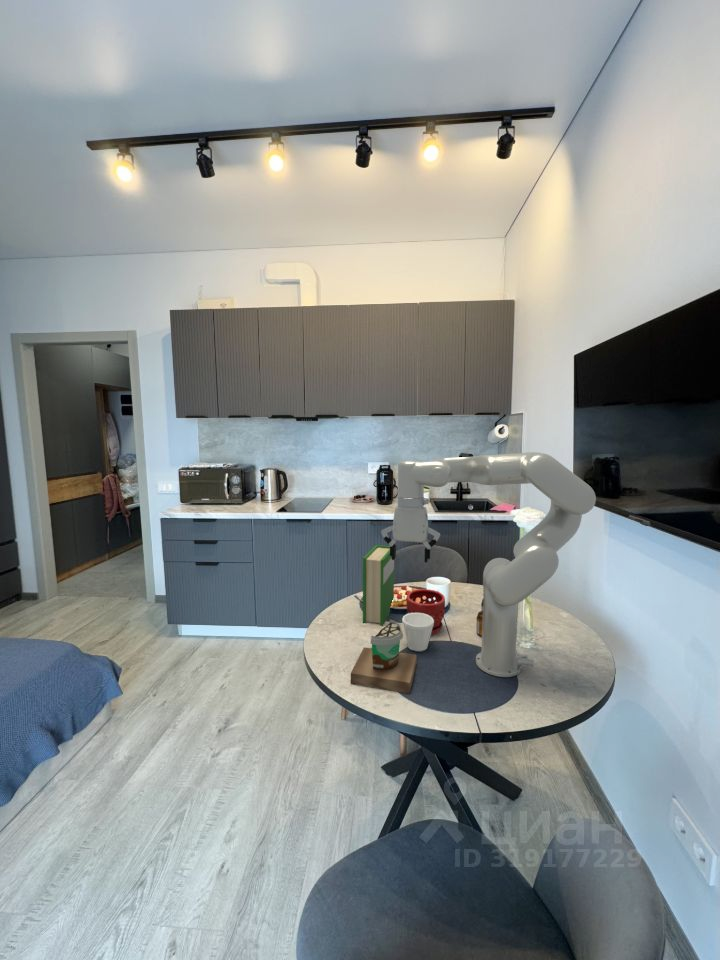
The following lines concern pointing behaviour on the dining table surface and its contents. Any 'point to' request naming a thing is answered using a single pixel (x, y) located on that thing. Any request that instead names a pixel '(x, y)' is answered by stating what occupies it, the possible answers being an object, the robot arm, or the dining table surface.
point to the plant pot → (428, 606)
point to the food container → (386, 646)
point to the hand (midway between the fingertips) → (409, 559)
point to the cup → (417, 630)
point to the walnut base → (384, 673)
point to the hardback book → (377, 584)
